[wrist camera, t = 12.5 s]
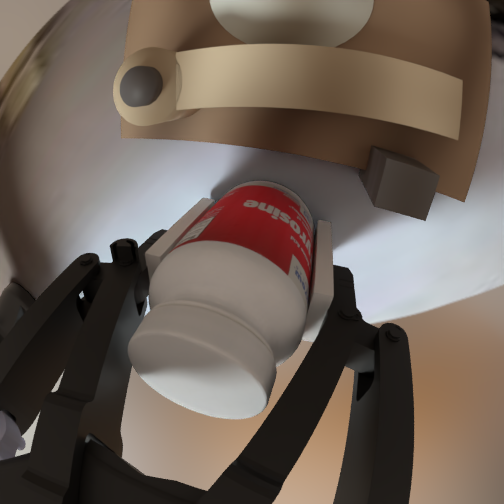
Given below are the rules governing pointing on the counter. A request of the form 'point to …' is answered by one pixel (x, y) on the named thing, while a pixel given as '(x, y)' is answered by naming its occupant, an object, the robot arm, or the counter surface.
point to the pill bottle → (229, 303)
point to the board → (329, 123)
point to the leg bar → (286, 84)
